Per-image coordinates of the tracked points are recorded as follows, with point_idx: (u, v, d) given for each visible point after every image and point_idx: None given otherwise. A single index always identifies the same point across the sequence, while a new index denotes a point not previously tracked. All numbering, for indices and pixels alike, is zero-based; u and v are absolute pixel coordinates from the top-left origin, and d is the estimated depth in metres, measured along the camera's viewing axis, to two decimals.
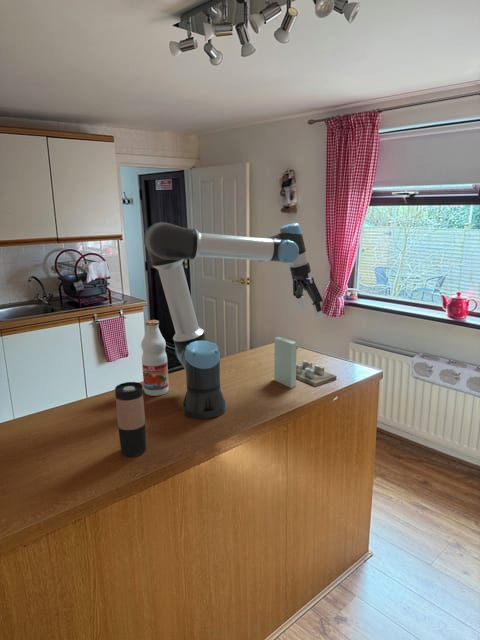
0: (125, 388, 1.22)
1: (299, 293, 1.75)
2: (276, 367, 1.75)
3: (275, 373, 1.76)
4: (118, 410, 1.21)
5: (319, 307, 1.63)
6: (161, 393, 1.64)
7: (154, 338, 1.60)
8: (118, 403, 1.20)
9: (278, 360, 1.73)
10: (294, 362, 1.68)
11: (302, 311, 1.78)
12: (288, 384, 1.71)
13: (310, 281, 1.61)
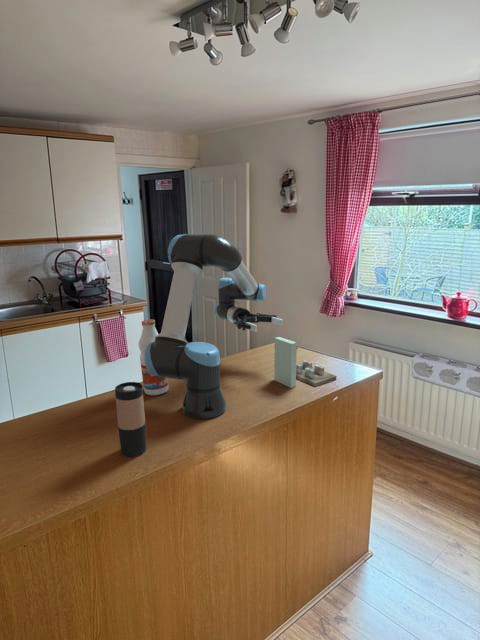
0: (125, 388, 1.22)
1: None
2: (276, 367, 1.75)
3: (275, 373, 1.76)
4: (118, 410, 1.21)
5: None
6: (161, 392, 1.64)
7: (151, 338, 1.60)
8: (118, 403, 1.20)
9: (278, 360, 1.73)
10: (294, 362, 1.68)
11: None
12: (288, 384, 1.71)
13: None
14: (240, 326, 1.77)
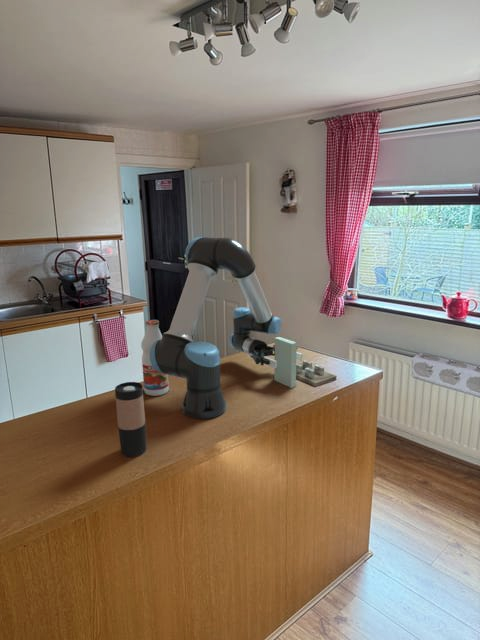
0: (125, 388, 1.22)
1: None
2: None
3: (275, 373, 1.76)
4: (118, 410, 1.21)
5: None
6: (161, 393, 1.64)
7: (154, 338, 1.60)
8: (118, 403, 1.20)
9: (278, 360, 1.73)
10: (294, 362, 1.68)
11: None
12: (288, 384, 1.71)
13: None
14: (258, 361, 1.71)
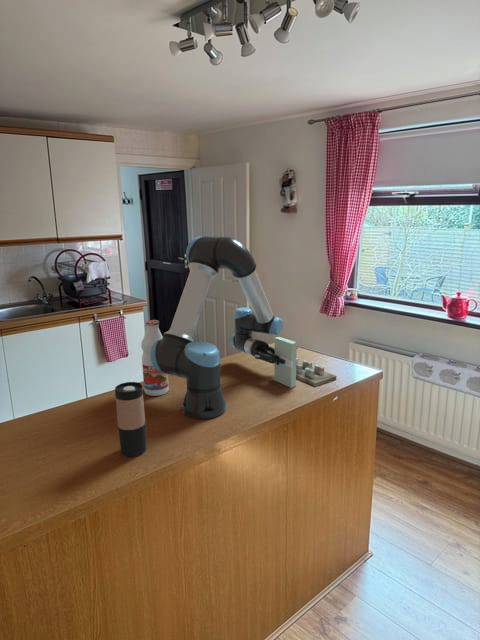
0: (125, 388, 1.22)
1: None
2: (276, 367, 1.75)
3: (275, 373, 1.76)
4: (118, 410, 1.21)
5: None
6: (161, 393, 1.64)
7: (154, 338, 1.60)
8: (118, 403, 1.20)
9: None
10: (294, 362, 1.68)
11: None
12: (288, 384, 1.71)
13: None
14: (274, 360, 1.71)
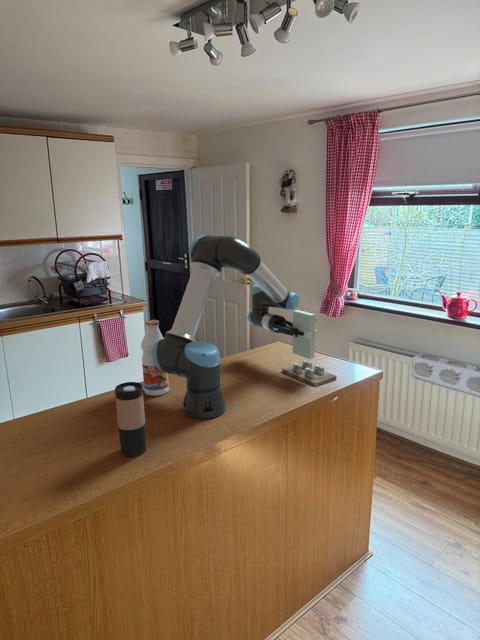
0: (125, 388, 1.22)
1: None
2: (294, 340, 1.79)
3: (293, 346, 1.80)
4: (118, 410, 1.21)
5: None
6: (161, 393, 1.64)
7: (154, 338, 1.60)
8: (118, 403, 1.20)
9: None
10: (313, 334, 1.72)
11: None
12: (307, 356, 1.74)
13: None
14: (293, 333, 1.75)
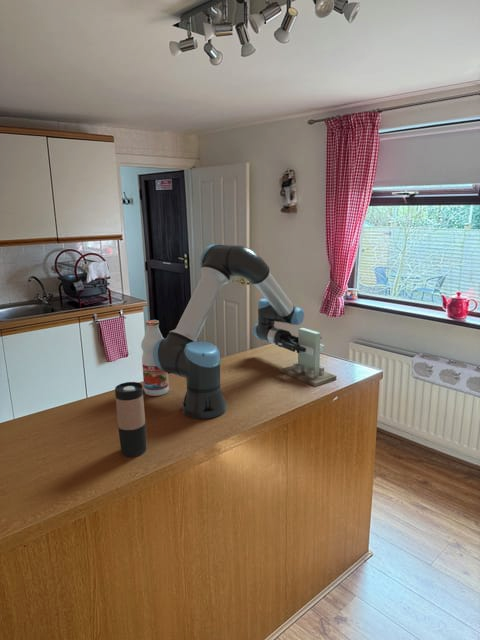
0: (125, 388, 1.22)
1: None
2: (300, 357, 1.82)
3: (298, 363, 1.83)
4: (118, 410, 1.21)
5: None
6: (161, 393, 1.64)
7: (154, 338, 1.60)
8: (118, 403, 1.20)
9: None
10: (318, 352, 1.75)
11: None
12: None
13: None
14: (295, 349, 1.77)
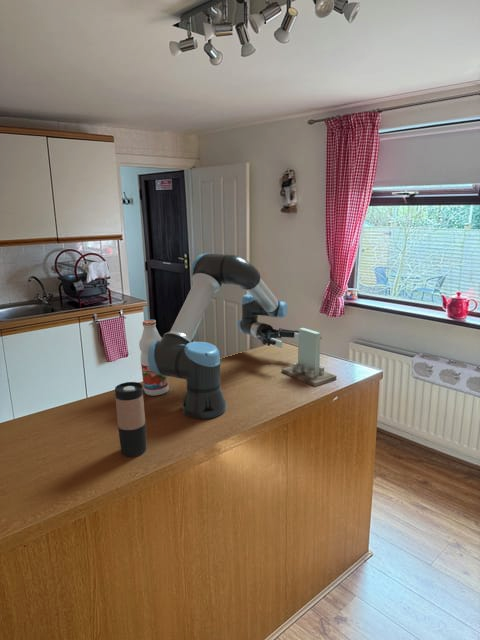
0: (125, 388, 1.22)
1: (270, 338, 1.90)
2: (300, 357, 1.82)
3: (298, 363, 1.83)
4: (118, 410, 1.21)
5: None
6: (161, 392, 1.64)
7: (152, 338, 1.60)
8: (118, 403, 1.20)
9: (302, 350, 1.80)
10: (318, 352, 1.75)
11: None
12: None
13: None
14: (265, 342, 1.86)
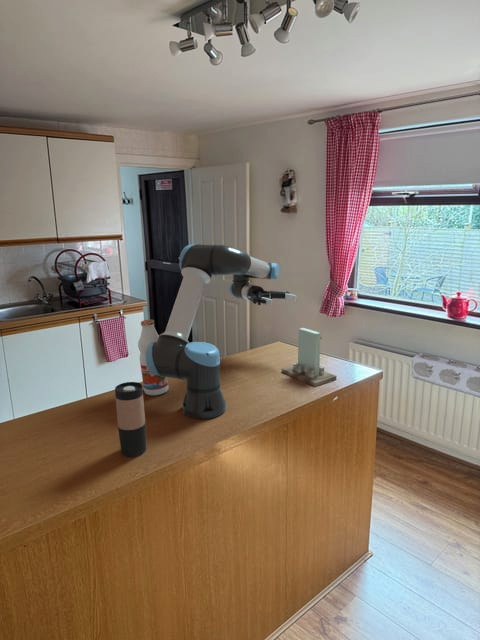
0: (125, 388, 1.22)
1: None
2: (300, 357, 1.82)
3: (298, 363, 1.83)
4: (118, 410, 1.21)
5: None
6: (161, 392, 1.64)
7: (150, 338, 1.60)
8: (118, 403, 1.20)
9: (302, 350, 1.80)
10: (318, 352, 1.75)
11: None
12: None
13: None
14: (256, 301, 1.85)
